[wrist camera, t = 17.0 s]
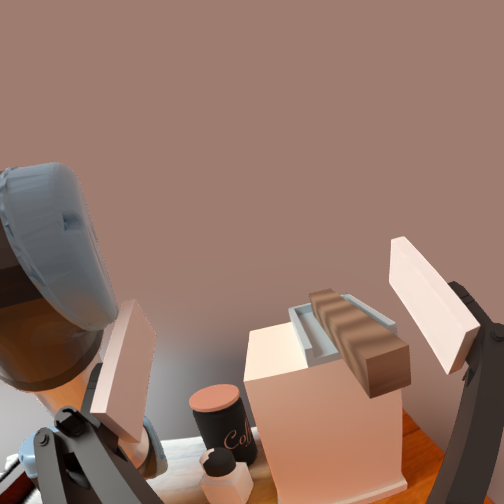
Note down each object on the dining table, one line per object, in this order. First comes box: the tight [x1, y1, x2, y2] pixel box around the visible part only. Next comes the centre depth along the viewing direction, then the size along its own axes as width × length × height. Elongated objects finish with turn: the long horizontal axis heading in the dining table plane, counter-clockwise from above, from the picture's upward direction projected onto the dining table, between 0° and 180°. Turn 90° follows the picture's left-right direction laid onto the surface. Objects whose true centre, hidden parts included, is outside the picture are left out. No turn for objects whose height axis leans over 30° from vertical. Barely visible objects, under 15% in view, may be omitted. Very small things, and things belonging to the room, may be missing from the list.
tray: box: [288, 293, 398, 368], centre depth 46 cm, size 23×12×2 cm, turn 178°
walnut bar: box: [309, 289, 411, 399], centre depth 38 cm, size 32×4×4 cm, turn 178°
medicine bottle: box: [199, 447, 254, 504], centre depth 45 cm, size 7×7×12 cm
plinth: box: [244, 322, 408, 504], centre depth 46 cm, size 24×22×30 cm
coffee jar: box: [189, 384, 258, 466], centre depth 57 cm, size 11×11×18 cm
